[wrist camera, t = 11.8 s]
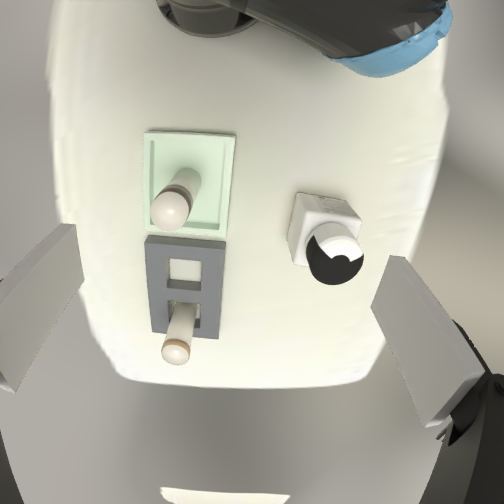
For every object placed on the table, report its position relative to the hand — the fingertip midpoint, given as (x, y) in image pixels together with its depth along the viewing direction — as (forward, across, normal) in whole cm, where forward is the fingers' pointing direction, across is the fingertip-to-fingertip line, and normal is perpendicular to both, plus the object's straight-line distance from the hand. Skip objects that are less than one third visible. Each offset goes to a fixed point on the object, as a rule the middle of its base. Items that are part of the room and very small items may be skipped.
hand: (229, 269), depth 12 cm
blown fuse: (+31, -7, -6) cm, 32 cm away
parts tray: (+32, -7, -6) cm, 33 cm away
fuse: (+32, -7, -28) cm, 43 cm away
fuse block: (+32, -7, -24) cm, 40 cm away
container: (+32, +12, -10) cm, 36 cm away
